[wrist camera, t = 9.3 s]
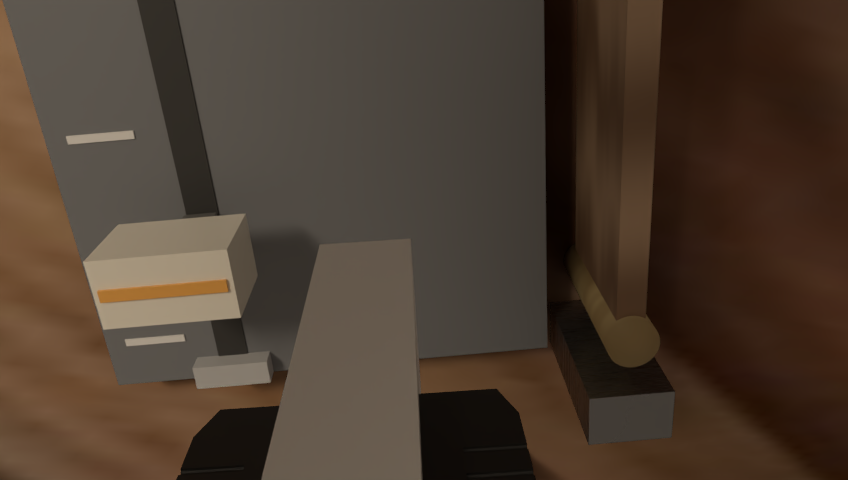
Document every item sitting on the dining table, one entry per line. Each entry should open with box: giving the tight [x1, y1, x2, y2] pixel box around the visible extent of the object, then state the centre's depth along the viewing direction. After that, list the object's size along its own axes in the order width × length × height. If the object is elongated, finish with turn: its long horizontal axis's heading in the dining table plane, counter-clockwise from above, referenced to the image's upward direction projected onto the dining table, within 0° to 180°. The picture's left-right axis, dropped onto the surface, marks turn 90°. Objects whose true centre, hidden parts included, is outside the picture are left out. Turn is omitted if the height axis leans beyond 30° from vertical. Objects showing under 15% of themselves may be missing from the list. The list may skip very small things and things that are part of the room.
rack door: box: [564, 0, 663, 367], centre depth 24 cm, size 17×2×7 cm, turn 4°
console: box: [3, 0, 547, 389], centre depth 25 cm, size 26×18×3 cm
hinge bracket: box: [550, 300, 675, 445], centre depth 28 cm, size 2×3×7 cm, turn 95°
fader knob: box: [83, 212, 258, 330], centre depth 24 cm, size 2×4×5 cm, turn 94°
